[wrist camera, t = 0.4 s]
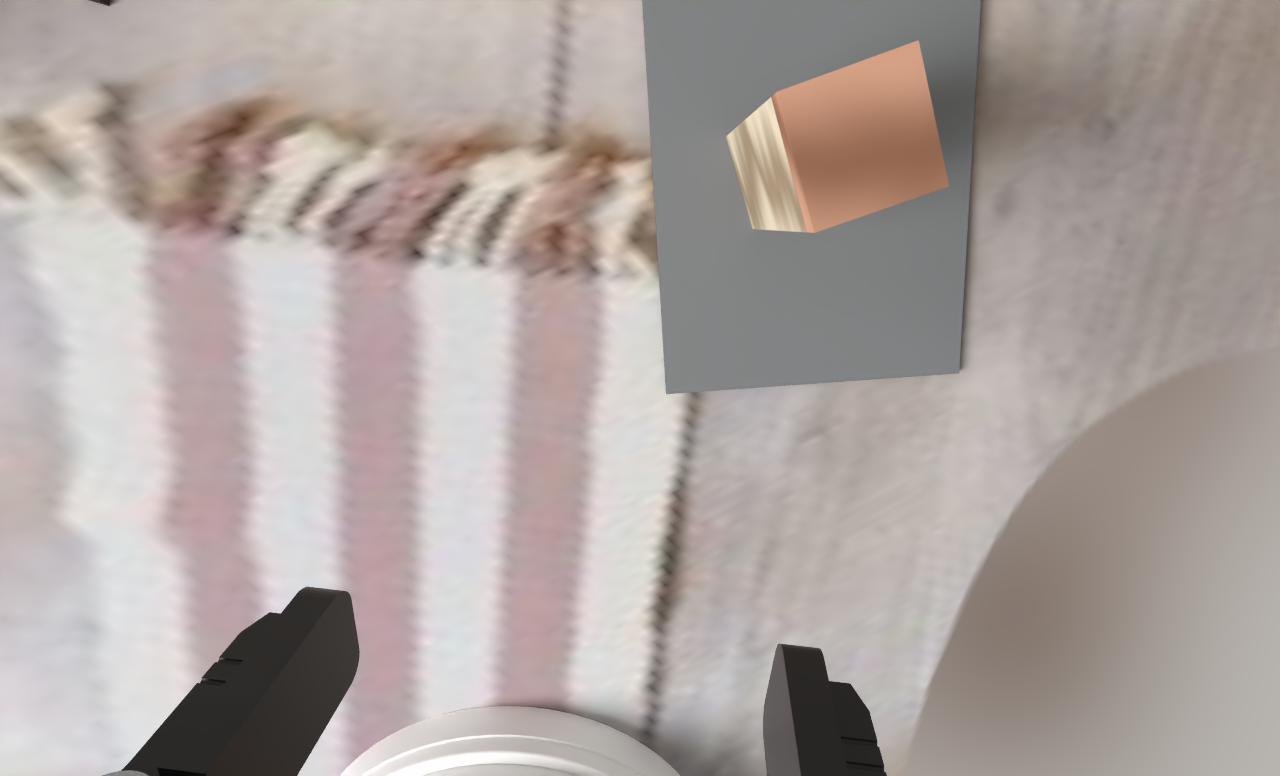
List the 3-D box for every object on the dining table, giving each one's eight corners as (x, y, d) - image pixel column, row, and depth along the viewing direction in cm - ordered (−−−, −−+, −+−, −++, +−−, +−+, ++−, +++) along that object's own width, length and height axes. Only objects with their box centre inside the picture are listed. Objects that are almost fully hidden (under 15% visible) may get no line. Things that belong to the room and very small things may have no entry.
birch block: (725, 136, 34) (777, 91, 22) (817, 103, 33) (918, 40, 22) (752, 229, 35) (814, 232, 23) (841, 198, 35) (949, 186, 23)
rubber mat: (634, -125, 31) (634, -131, 31) (984, -150, 31) (990, -156, 31) (666, 391, 38) (666, 394, 37) (954, 371, 38) (959, 373, 37)
